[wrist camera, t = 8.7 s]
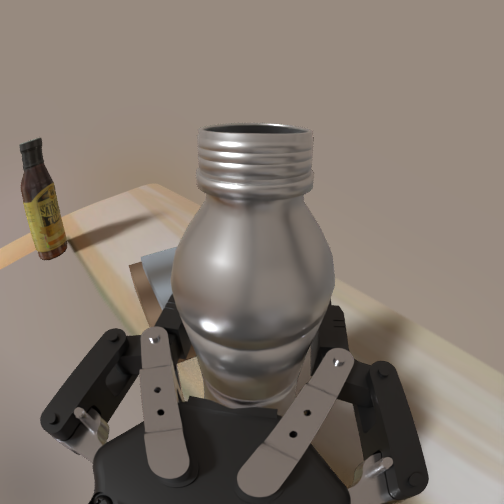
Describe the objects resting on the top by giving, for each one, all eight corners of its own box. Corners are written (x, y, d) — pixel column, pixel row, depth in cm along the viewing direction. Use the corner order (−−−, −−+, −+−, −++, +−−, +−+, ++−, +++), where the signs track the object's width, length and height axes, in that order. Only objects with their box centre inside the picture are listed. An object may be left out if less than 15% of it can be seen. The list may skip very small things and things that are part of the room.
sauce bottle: (59, 262, 37) (30, 140, 26) (33, 262, 36) (4, 150, 26) (75, 242, 42) (53, 132, 32) (50, 243, 42) (27, 140, 31)
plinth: (284, 318, 29) (288, 280, 26) (167, 366, 23) (155, 330, 20) (226, 260, 38) (225, 227, 36) (135, 288, 32) (126, 254, 30)
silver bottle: (192, 445, 16) (98, 146, 6) (227, 381, 22) (212, 119, 12) (276, 473, 15) (369, 160, 4) (300, 401, 20) (358, 130, 10)
